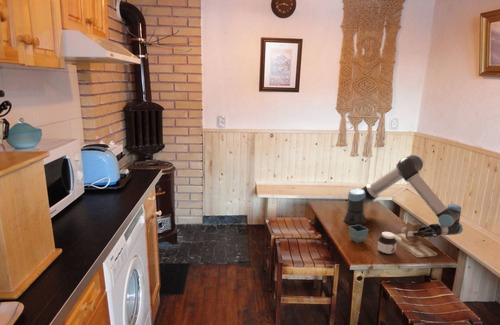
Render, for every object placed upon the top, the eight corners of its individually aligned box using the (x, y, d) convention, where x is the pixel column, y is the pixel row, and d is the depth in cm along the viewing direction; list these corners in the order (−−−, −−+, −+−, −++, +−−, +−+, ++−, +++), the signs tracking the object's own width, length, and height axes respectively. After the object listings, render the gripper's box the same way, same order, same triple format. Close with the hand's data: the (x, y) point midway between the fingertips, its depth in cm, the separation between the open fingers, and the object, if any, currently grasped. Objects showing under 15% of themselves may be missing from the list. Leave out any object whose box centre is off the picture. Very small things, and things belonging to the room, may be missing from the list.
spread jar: (384, 256, 193) (386, 238, 191) (370, 248, 204) (372, 230, 201) (400, 253, 198) (402, 234, 196) (385, 244, 208) (387, 227, 206)
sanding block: (408, 245, 204) (410, 225, 201) (401, 240, 211) (403, 221, 208) (421, 244, 206) (423, 224, 203) (413, 239, 212) (416, 220, 210)
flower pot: (347, 239, 216) (348, 226, 214) (358, 237, 219) (359, 224, 217) (356, 245, 208) (357, 231, 206) (367, 242, 211) (368, 229, 209)
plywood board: (417, 257, 193) (417, 255, 193) (388, 236, 220) (388, 234, 219) (436, 255, 195) (437, 253, 195) (406, 235, 222) (406, 233, 222)
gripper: (447, 241, 202) (413, 244, 198) (427, 229, 220) (395, 231, 215) (449, 229, 201) (415, 232, 196) (428, 218, 218) (396, 220, 214)
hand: (404, 232), depth 206 cm, fingers closed on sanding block, 5 cm apart
